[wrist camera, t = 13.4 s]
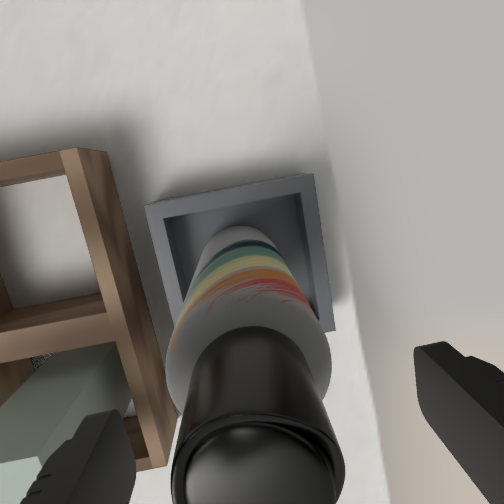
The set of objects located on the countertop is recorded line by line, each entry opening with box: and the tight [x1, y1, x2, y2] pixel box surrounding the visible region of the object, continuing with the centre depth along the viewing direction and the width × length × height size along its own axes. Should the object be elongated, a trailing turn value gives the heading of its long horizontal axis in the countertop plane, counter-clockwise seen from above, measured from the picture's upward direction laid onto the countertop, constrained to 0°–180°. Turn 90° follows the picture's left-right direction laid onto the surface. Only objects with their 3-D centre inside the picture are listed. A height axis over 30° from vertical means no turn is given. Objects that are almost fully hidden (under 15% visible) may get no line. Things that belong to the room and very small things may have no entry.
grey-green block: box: [0, 341, 132, 504], centre depth 23 cm, size 5×5×12 cm
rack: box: [0, 148, 178, 472], centre depth 25 cm, size 22×11×5 cm, turn 10°
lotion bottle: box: [165, 226, 345, 504], centre depth 17 cm, size 6×6×20 cm
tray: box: [144, 173, 336, 333], centre depth 26 cm, size 11×11×4 cm
